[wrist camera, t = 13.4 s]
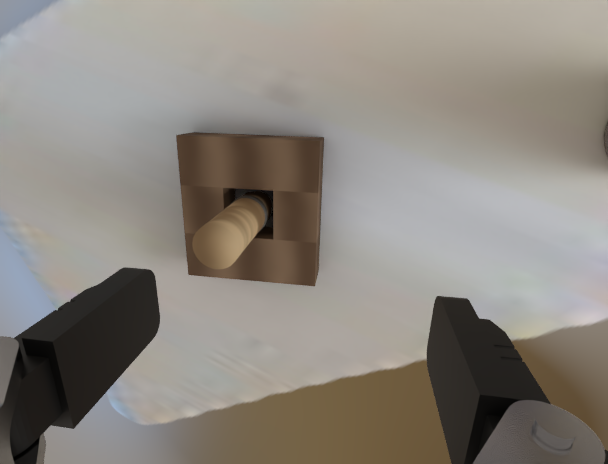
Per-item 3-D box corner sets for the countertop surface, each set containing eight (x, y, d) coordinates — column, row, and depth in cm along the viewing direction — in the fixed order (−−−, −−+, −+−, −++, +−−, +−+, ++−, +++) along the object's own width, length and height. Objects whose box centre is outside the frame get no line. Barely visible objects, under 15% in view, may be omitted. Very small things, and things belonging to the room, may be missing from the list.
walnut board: (323, 137, 40) (320, 141, 36) (318, 271, 45) (314, 286, 42) (192, 132, 42) (176, 135, 38) (202, 261, 47) (188, 274, 43)
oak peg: (276, 187, 43) (238, 225, 30) (276, 222, 44) (240, 272, 31) (241, 185, 43) (189, 221, 30) (242, 219, 45) (193, 268, 31)
